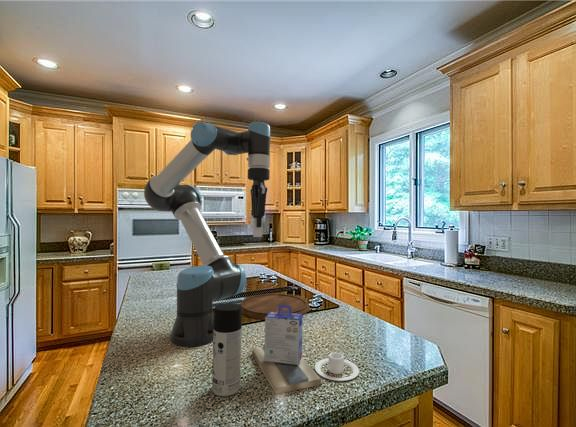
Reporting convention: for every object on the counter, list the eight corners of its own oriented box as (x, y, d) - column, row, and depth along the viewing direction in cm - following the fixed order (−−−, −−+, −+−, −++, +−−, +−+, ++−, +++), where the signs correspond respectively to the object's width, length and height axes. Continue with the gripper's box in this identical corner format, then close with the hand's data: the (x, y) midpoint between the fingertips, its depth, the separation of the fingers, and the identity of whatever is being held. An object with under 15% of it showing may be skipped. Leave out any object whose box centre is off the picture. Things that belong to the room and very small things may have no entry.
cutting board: (321, 305, 142) (321, 300, 142) (284, 327, 115) (284, 320, 115) (266, 294, 159) (266, 289, 159) (222, 311, 132) (222, 305, 132)
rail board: (275, 394, 72) (275, 384, 72) (252, 353, 92) (252, 345, 92) (321, 384, 76) (321, 375, 76) (288, 347, 96) (289, 340, 96)
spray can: (214, 381, 76) (215, 302, 76) (241, 381, 77) (242, 302, 77) (209, 398, 70) (211, 311, 70) (239, 397, 70) (241, 311, 70)
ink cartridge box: (302, 356, 86) (303, 305, 86) (299, 366, 80) (300, 311, 80) (269, 352, 88) (269, 302, 88) (263, 361, 82) (264, 308, 82)
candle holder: (338, 356, 92) (338, 342, 92) (368, 375, 82) (368, 358, 82) (305, 367, 85) (306, 352, 85) (334, 388, 75) (335, 371, 75)
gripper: (243, 170, 109) (242, 235, 109) (253, 165, 97) (251, 238, 97) (263, 171, 112) (262, 235, 112) (275, 166, 100) (274, 238, 100)
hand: (257, 236), depth 105 cm, fingers closed
